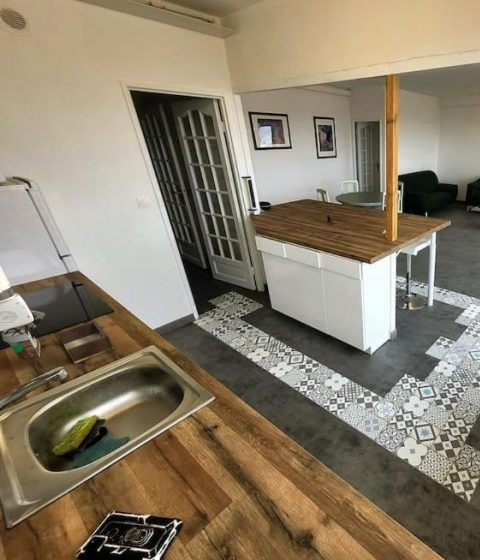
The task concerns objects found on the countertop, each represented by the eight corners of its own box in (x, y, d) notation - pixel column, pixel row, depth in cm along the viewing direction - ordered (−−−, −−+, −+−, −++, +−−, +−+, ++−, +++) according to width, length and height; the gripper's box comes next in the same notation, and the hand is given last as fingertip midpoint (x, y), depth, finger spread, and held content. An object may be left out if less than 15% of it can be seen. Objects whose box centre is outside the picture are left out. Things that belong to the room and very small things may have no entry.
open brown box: (74, 363, 109) (67, 350, 107) (63, 345, 119) (57, 332, 116) (113, 348, 117) (107, 336, 115) (100, 332, 127) (95, 320, 124)
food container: (14, 349, 108) (1, 325, 104) (40, 342, 112) (28, 319, 108) (12, 367, 100) (-3, 341, 96) (39, 359, 104) (26, 334, 100)
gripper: (-50, 309, 89) (-19, 359, 96) (37, 289, 101) (59, 335, 109) (-51, 300, 93) (-21, 349, 100) (33, 283, 105) (54, 327, 113)
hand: (20, 341), depth 104 cm, fingers closed on food container, 6 cm apart
